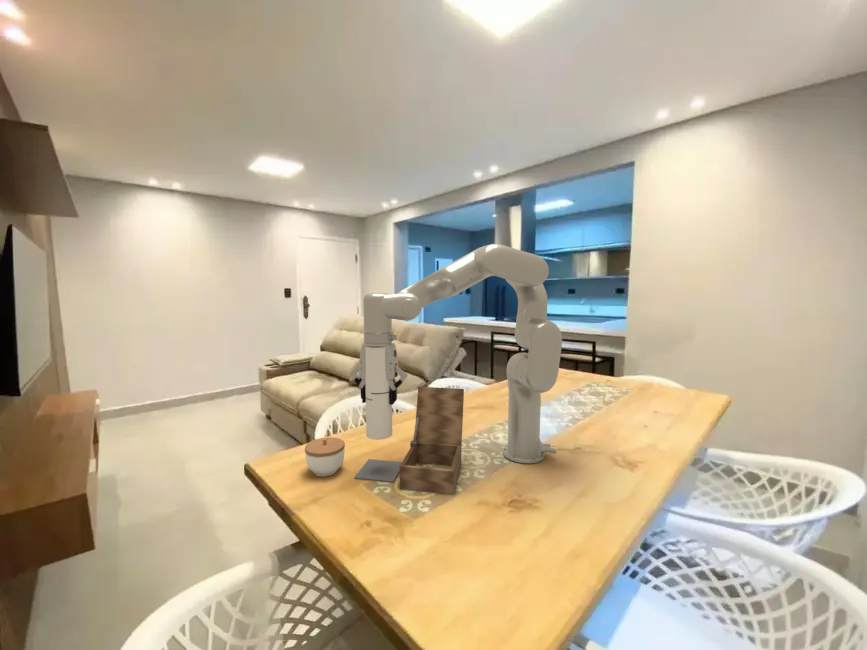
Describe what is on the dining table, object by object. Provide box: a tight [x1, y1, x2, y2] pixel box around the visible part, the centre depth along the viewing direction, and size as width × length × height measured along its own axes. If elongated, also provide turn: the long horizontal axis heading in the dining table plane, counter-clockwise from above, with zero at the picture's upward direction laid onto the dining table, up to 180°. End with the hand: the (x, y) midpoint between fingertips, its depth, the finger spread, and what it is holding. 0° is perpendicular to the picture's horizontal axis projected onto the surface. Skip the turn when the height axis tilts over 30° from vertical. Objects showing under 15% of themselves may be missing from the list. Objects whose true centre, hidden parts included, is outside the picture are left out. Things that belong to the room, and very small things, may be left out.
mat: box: [353, 458, 402, 484], centre depth 105 cm, size 11×11×1 cm
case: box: [399, 386, 465, 495], centre depth 104 cm, size 14×22×21 cm, turn 169°
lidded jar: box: [304, 436, 346, 478], centre depth 104 cm, size 11×11×9 cm
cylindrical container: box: [365, 347, 393, 441], centre depth 102 cm, size 7×7×25 cm
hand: (378, 401), depth 103 cm, fingers closed on cylindrical container, 7 cm apart
